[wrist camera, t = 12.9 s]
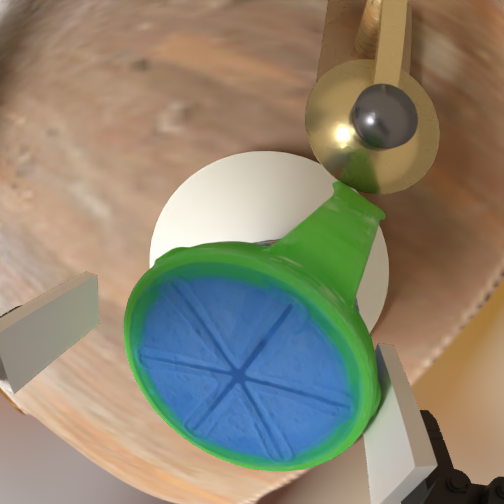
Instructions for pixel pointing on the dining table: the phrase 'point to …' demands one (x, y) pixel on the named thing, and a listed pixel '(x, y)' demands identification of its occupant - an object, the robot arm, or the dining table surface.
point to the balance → (370, 99)
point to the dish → (260, 212)
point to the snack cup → (262, 340)
